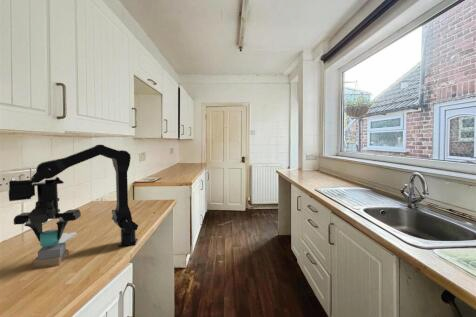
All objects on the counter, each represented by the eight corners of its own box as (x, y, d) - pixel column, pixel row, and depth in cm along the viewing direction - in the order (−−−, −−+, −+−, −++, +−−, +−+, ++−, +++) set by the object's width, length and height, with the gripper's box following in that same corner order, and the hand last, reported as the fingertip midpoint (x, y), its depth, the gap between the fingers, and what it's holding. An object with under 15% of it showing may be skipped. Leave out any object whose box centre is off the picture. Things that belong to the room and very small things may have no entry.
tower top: (45, 252, 93) (44, 244, 93) (65, 250, 96) (65, 242, 96) (38, 260, 87) (37, 251, 87) (60, 257, 90) (60, 248, 89)
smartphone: (41, 246, 106) (61, 232, 120) (42, 248, 106) (62, 235, 121) (60, 245, 107) (78, 232, 121) (61, 247, 107) (78, 234, 121)
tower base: (44, 259, 95) (44, 251, 95) (68, 256, 97) (68, 249, 97) (32, 269, 87) (32, 260, 87) (59, 266, 89) (59, 258, 89)
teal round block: (45, 241, 93) (44, 230, 93) (62, 239, 94) (61, 229, 94) (37, 246, 88) (36, 235, 88) (55, 245, 89) (54, 234, 89)
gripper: (1, 203, 80) (4, 252, 81) (67, 200, 85) (69, 246, 85) (22, 196, 91) (24, 239, 92) (80, 194, 95) (82, 234, 96)
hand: (49, 240), depth 91 cm, fingers closed on teal round block, 5 cm apart
